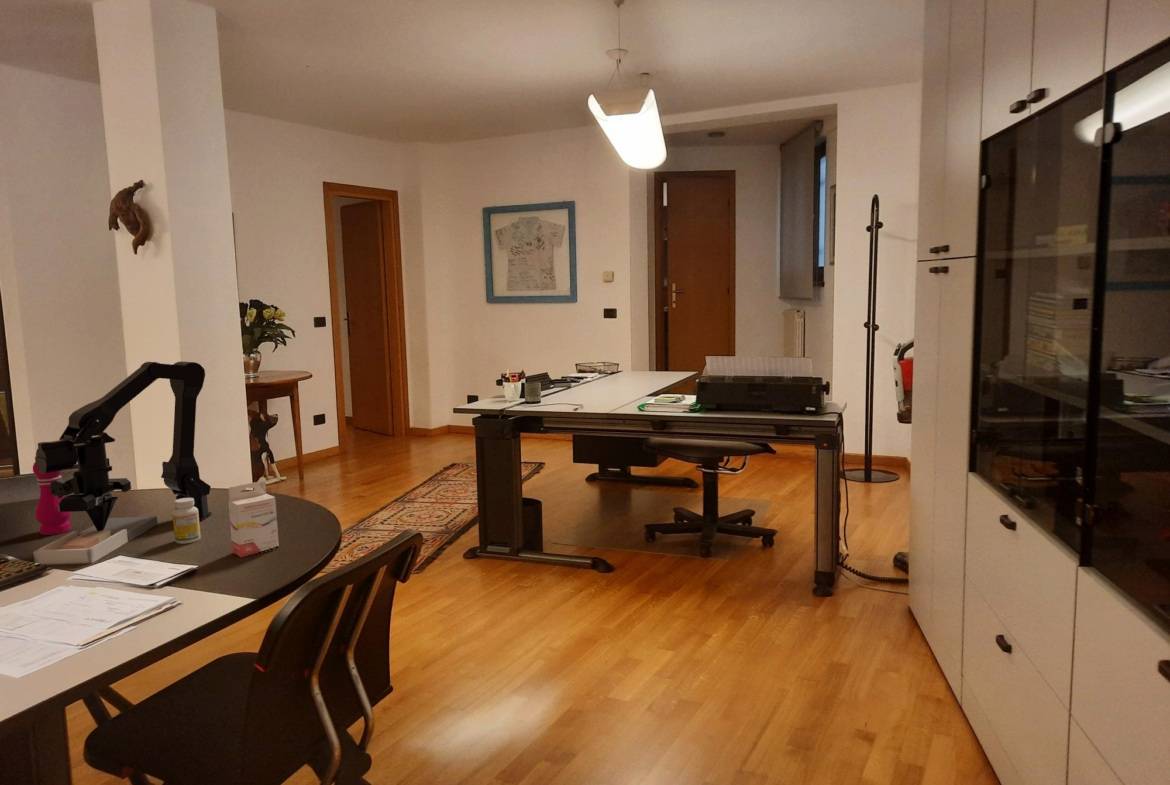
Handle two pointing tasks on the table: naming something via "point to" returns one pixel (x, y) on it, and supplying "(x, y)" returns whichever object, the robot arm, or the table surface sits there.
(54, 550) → the box
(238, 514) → the ink cartridge box
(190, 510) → the supplement bottle
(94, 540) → the terracotta tile
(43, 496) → the pepper mill
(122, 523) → the board
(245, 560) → the table surface
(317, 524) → the table surface
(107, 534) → the birch tile
